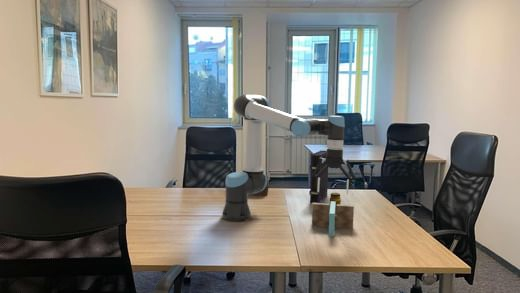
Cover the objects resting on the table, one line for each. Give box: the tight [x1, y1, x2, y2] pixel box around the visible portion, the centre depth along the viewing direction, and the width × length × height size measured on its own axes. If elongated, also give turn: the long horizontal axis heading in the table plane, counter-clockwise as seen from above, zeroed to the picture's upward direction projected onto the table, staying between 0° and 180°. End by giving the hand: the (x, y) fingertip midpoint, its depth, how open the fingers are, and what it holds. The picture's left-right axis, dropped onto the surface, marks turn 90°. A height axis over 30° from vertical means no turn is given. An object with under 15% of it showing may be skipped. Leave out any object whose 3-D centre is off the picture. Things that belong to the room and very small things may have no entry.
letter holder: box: [250, 175, 269, 196], centre depth 258 cm, size 10×20×14 cm, turn 85°
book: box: [308, 149, 329, 203], centre depth 244 cm, size 24×6×30 cm, turn 157°
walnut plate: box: [311, 202, 355, 229], centre depth 190 cm, size 20×2×11 cm, turn 78°
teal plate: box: [328, 201, 336, 238], centre depth 184 cm, size 20×2×11 cm, turn 168°
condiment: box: [328, 192, 342, 215], centre depth 209 cm, size 7×8×12 cm
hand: (332, 192), depth 183 cm, fingers open, 13 cm apart
